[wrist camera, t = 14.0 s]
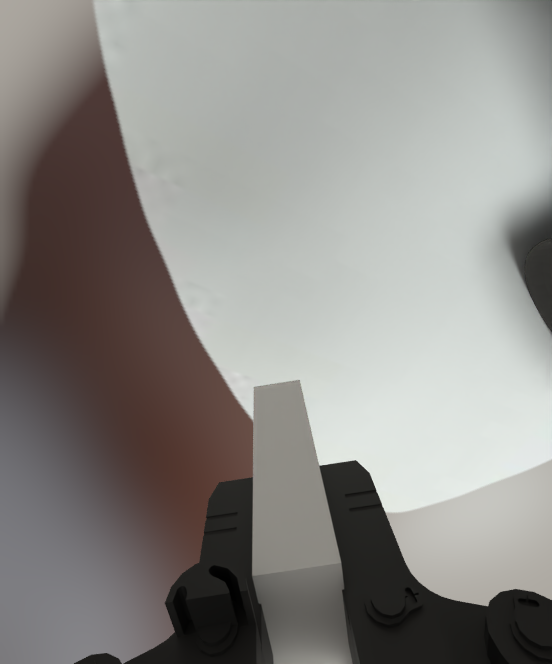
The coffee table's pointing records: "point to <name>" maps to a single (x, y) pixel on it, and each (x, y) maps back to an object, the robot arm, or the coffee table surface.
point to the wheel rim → (541, 278)
